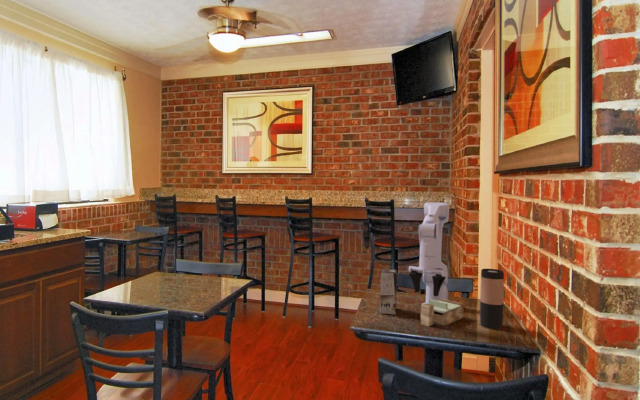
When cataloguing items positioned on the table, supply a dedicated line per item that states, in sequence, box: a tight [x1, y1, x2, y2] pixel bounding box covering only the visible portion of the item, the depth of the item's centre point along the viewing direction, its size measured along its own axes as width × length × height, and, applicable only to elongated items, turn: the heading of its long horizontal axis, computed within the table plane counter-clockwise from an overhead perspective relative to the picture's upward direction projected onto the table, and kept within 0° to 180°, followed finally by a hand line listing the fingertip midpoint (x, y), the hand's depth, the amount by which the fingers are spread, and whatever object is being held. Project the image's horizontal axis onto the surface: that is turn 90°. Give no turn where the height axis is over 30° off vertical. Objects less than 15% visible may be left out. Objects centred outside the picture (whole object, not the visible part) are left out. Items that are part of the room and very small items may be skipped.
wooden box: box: [419, 299, 464, 327], centre depth 143 cm, size 14×10×6 cm
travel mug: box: [479, 268, 505, 330], centre depth 135 cm, size 8×8×20 cm
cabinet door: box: [429, 299, 462, 313], centre depth 142 cm, size 13×9×3 cm
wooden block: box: [420, 302, 434, 327], centre depth 135 cm, size 3×3×7 cm
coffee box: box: [379, 268, 398, 315], centre depth 151 cm, size 9×6×16 cm
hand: (426, 294), depth 136 cm, fingers open, 7 cm apart
